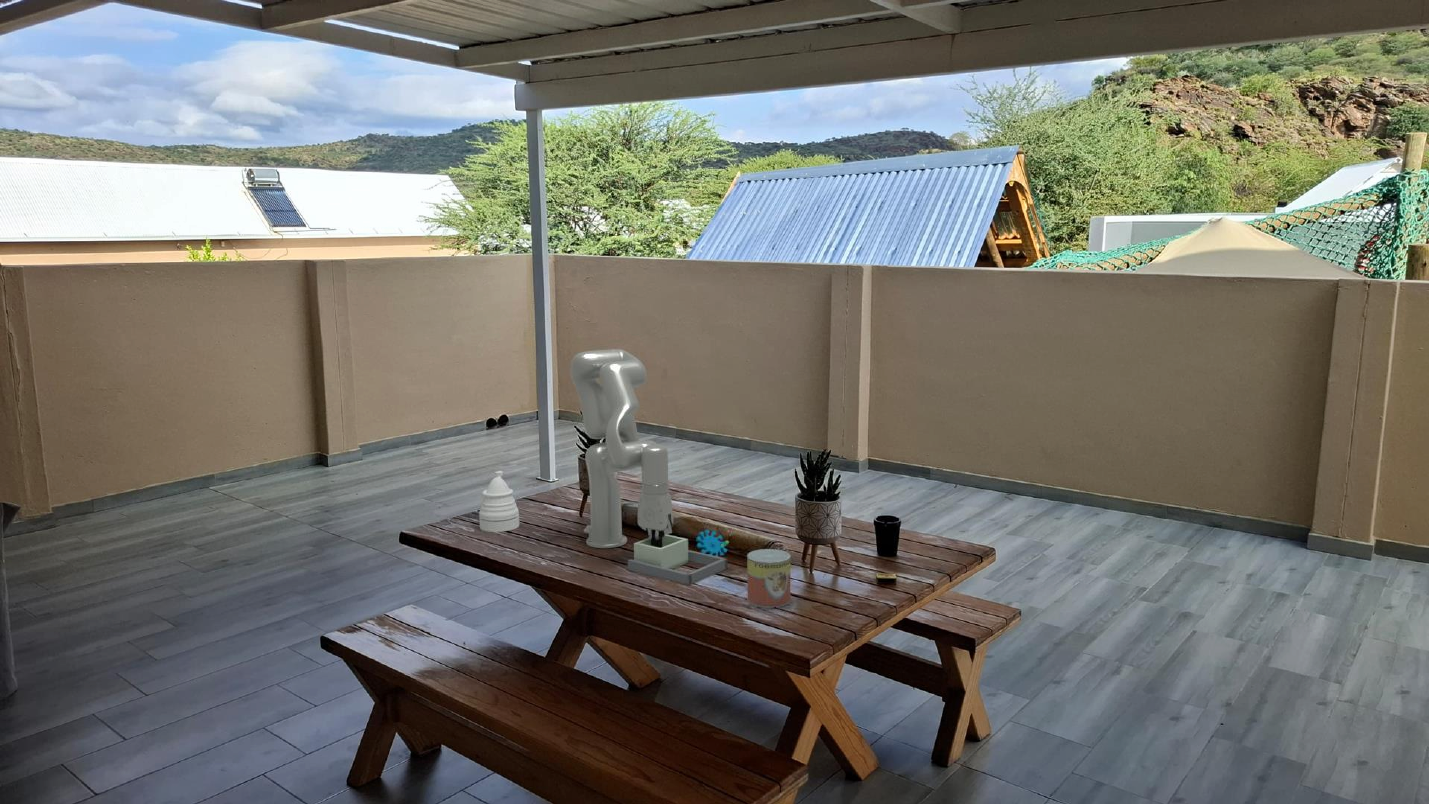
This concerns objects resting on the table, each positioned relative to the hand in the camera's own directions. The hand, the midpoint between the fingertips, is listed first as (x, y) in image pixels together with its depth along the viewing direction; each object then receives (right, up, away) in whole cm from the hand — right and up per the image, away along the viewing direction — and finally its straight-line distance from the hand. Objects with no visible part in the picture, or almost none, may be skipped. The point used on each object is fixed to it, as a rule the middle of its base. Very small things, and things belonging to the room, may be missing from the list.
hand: (656, 551), depth 280 cm
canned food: (+31, -9, -26) cm, 41 cm away
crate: (+1, -4, 0) cm, 4 cm away
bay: (+6, -5, -4) cm, 9 cm away
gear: (+16, -3, +10) cm, 19 cm away
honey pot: (-55, +1, +45) cm, 71 cm away
